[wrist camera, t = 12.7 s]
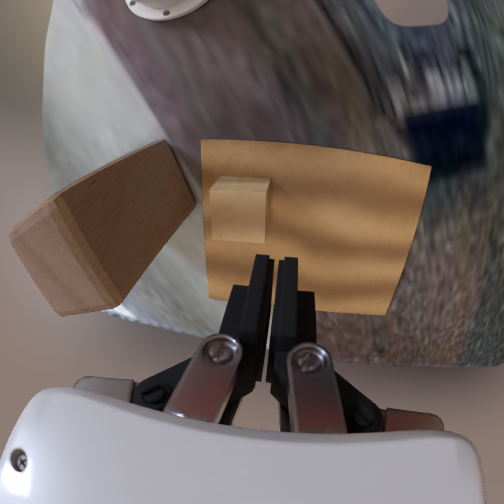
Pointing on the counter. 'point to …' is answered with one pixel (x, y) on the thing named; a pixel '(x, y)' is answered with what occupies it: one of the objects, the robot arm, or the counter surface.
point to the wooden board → (320, 220)
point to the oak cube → (240, 209)
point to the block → (103, 230)
